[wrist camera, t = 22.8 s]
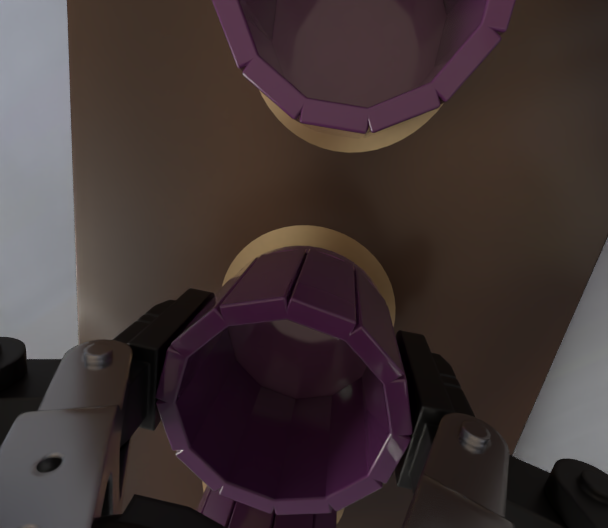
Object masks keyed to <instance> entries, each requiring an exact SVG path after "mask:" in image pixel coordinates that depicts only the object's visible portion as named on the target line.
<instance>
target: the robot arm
mask: <svg viewBox="0 0 608 528" xmlns="http://www.w3.org/2000/svg"><path fill="white" fill-rule="evenodd" d="M213 296H214V293H213V292H208V291H203V290H198V289H193V288H189V289H188V290H187V291H186V292H185V293H184V294H182V295H181V296H180V297H179V298H178V299H177V300H171V299H170V300H167V301H165V302H162V303H159V304H156V305H155V306H153V307H152V308H151V309H150V310H149V311H147V312H146V314H144V315H142V316H141V317H140V318H139V319H138V321H135V322H134V323H133V324H131V325H130V326H129V327H128V328H126V329H125V330H124V331H123V332H121V333H120V334H119V335H118V336H117V337H115V338H114V339H113V340H94V341H89V342H85V343H82V344H79V345H77V346H75V347H73V348H71V349H70V350H69V351H67V352H66V353H65V355H64V356H63V358H62V359H27V358H26V347H25V344H24V343H23V342H22V341H20V340H18V339H15V338H9V337H0V528H226V527H225V526H223V525H221V524H219V523H217V522H216V521H214V520H212V519H210V518H208V517H207V516H205V515H203V514H201V513H200V512H198V511H196V510H194V509H192V508H191V507H188V506H184V505H179V504H175V503H171V502H167V501H162V500H158V499H154V498H150V497H145V496H141V495H137V494H134V496H133V497H132V499H131V501H130V502H129V504H128V506H127V507H126V509H125V510H124V512H123V514H121V511H122V504H123V498H124V491H125V484H126V477H127V470H128V463H129V456H130V449H131V436H132V435H133V434H134V432H135V431H136V430H137V428H138V427H139V428H143V429H148V430H152V431H154V430H155V429H156V427H157V426H158V424H159V423H160V422H161V418H160V415H159V412H158V409H157V406H156V401H157V400H158V399H156V392H157V387H158V384H159V380H160V376H161V372H162V368H163V364H164V360H165V356H166V352H167V349H168V348H169V347H170V346H171V343H172V341H173V340H174V339H175V338H176V337H177V336H178V335H179V334H180V332H181V331H182V330H183V329H184V328H185V327H186V326H187V325H188V324H189V323H190V322H191V320H192V319H193V318H194V317H195V316H196V315H197V314H198V313H199V312H200V311H201V310H202V308H203V307H204V306H205V305H206V304H207V303H208V302H209V301H210V300H211V299H212V297H213ZM396 340H397V344H398V347H399V351H400V355H401V359H402V363H403V367H404V371H405V375H406V379H407V385H408V393H409V401H410V409H411V417H412V425H413V434H412V435H411V442H410V444H409V446H408V448H407V449H406V451H405V453H404V455H403V456H402V458H401V460H400V462H399V463H398V465H397V467H396V469H395V477H396V484H397V487H402V488H406V489H411V490H412V491H413V497H412V500H411V503H410V506H409V508H408V511H407V514H406V517H405V519H404V522H403V525H402V528H608V474H606V473H605V472H603V471H601V470H599V469H598V468H596V467H594V466H592V465H589V464H587V463H584V462H582V461H578V460H574V459H560V460H558V461H557V462H556V463H555V464H554V466H553V469H552V471H551V473H549V472H546V471H544V470H542V469H540V468H537V467H535V466H533V465H530V464H528V463H526V462H524V461H521V460H519V459H517V458H515V457H513V456H511V455H510V454H509V448H508V445H507V443H506V441H505V440H504V438H503V437H502V436H501V435H500V434H499V433H498V432H497V431H496V430H495V429H494V428H493V427H491V426H490V425H489V424H487V423H485V422H484V421H482V420H480V419H478V418H476V417H475V415H474V413H473V411H472V409H471V406H470V404H469V402H468V400H467V398H466V396H465V394H464V392H463V390H462V389H461V385H460V383H459V381H458V379H456V375H455V373H454V371H453V369H452V366H451V365H450V364H449V363H448V362H447V361H446V360H445V359H444V358H443V357H442V356H441V355H440V354H436V353H431V351H430V348H429V346H428V343H427V341H426V338H425V336H424V335H422V334H417V333H412V332H407V331H402V330H399V331H398V332H397V334H396Z"/></svg>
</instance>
